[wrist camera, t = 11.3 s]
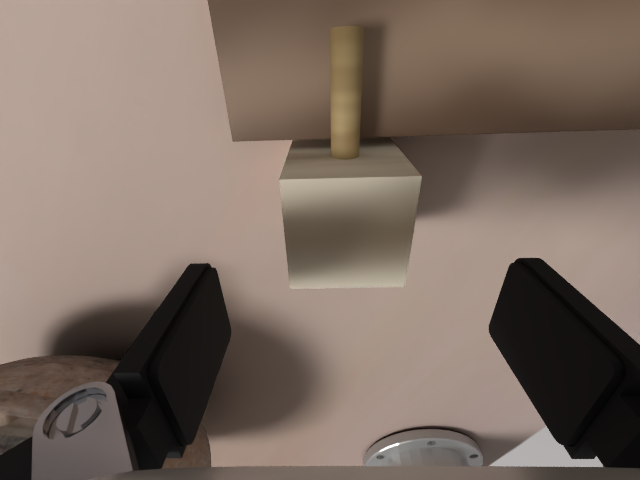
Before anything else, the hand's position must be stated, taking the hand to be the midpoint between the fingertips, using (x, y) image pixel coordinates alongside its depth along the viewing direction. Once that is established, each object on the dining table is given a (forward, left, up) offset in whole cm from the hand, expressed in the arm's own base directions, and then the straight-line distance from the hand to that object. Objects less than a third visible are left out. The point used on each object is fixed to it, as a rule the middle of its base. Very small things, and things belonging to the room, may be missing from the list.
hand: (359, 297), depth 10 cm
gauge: (+3, 0, -9) cm, 9 cm away
